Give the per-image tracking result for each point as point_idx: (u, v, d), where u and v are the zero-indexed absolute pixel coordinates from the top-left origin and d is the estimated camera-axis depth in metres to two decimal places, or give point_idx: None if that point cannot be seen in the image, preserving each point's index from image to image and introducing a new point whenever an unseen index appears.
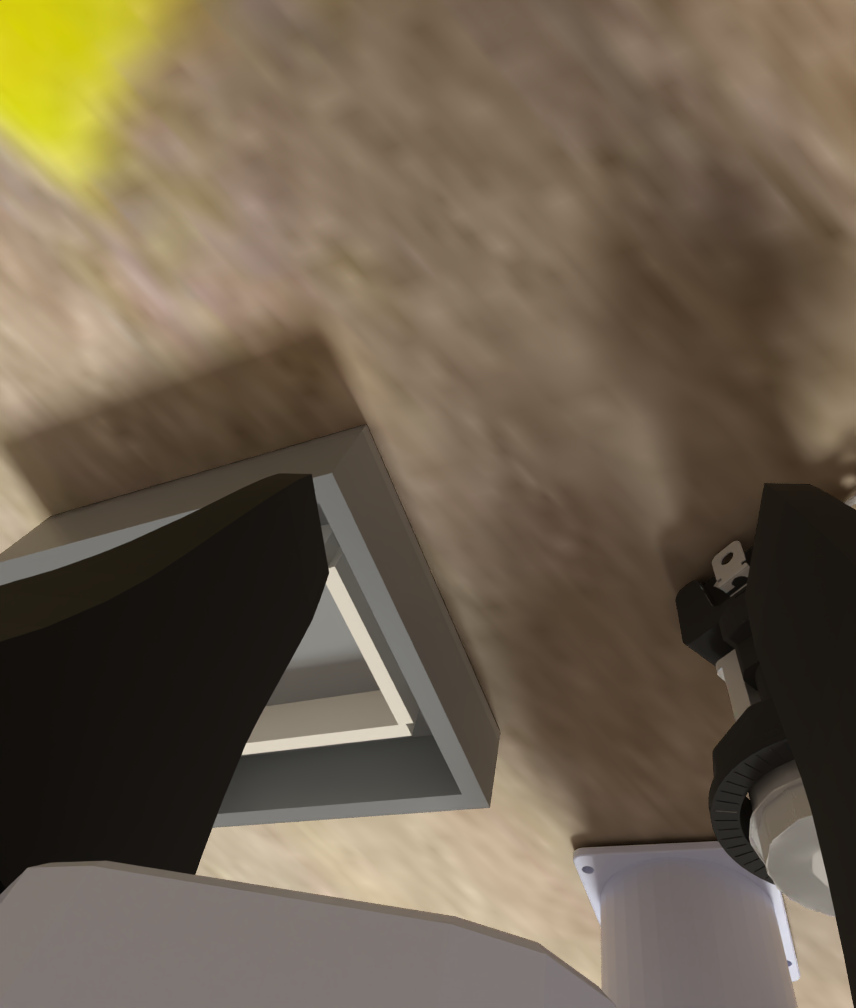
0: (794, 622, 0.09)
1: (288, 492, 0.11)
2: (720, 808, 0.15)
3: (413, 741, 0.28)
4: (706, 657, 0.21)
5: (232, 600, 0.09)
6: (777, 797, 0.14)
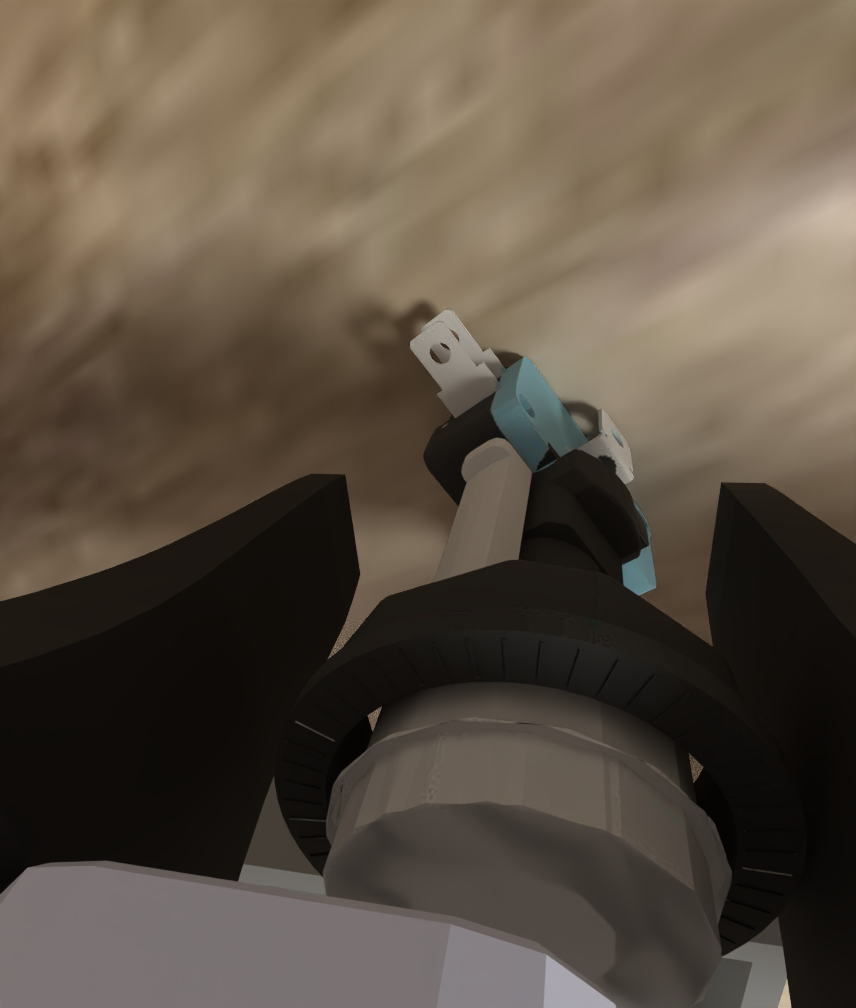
0: (744, 620, 0.09)
1: (324, 493, 0.10)
2: None
3: None
4: None
5: (272, 603, 0.09)
6: None
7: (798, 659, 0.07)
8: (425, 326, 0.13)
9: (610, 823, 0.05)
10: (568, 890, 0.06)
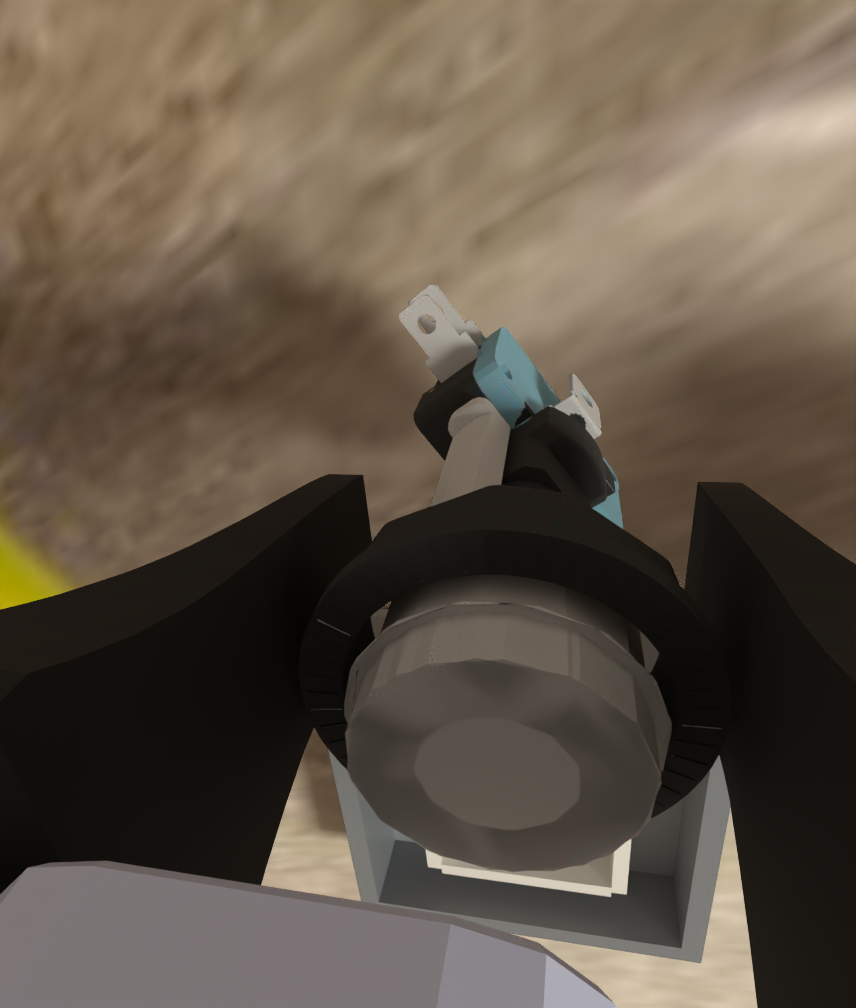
0: (717, 618, 0.09)
1: (343, 494, 0.10)
2: None
3: None
4: None
5: (294, 604, 0.09)
6: None
7: (764, 656, 0.07)
8: (412, 300, 0.15)
9: (572, 672, 0.07)
10: (541, 732, 0.07)
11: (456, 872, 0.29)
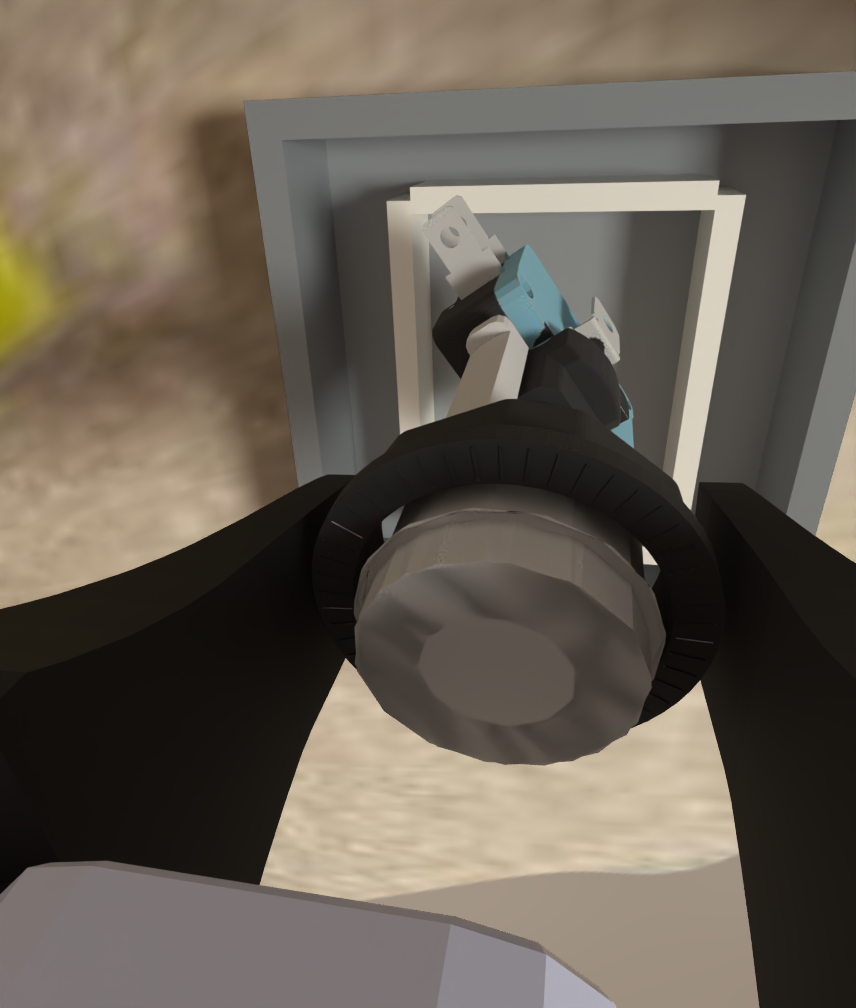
0: None
1: None
2: None
3: (814, 238, 0.17)
4: None
5: (292, 604, 0.09)
6: None
7: (766, 657, 0.07)
8: (436, 212, 0.14)
9: (574, 579, 0.07)
10: (540, 634, 0.08)
11: None
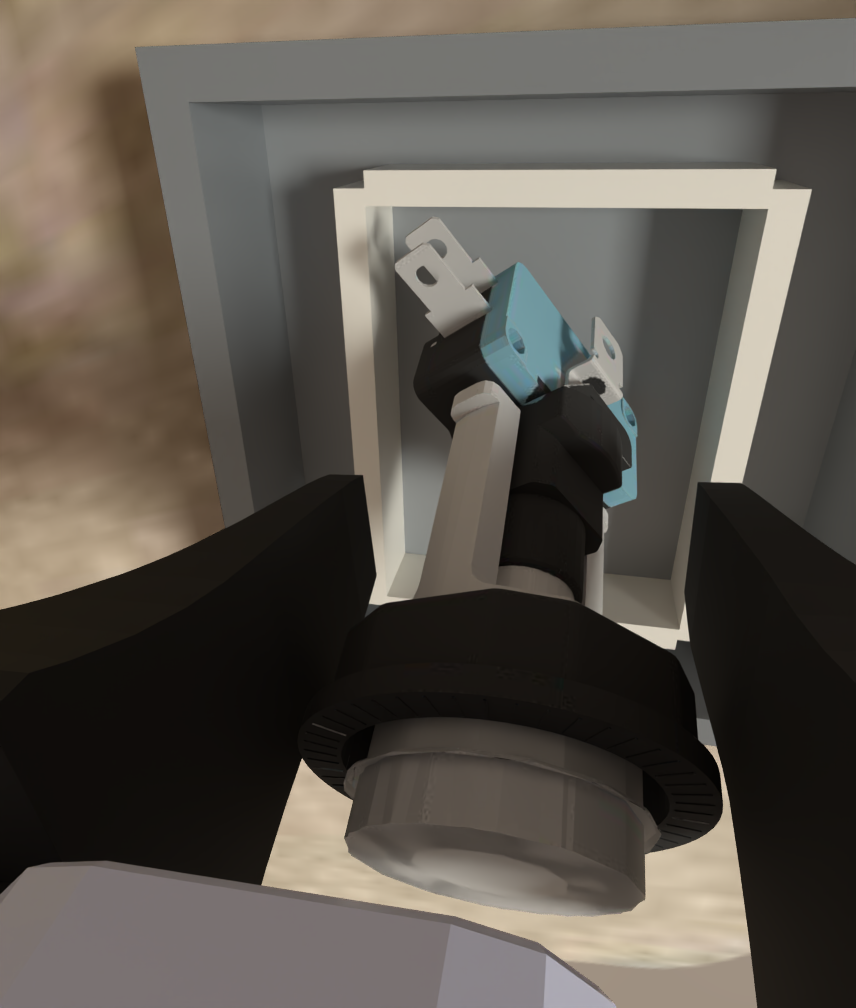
0: (717, 618, 0.09)
1: (343, 494, 0.10)
2: None
3: None
4: None
5: (294, 604, 0.09)
6: None
7: (763, 656, 0.07)
8: (410, 235, 0.12)
9: (565, 838, 0.07)
10: (532, 865, 0.07)
11: None
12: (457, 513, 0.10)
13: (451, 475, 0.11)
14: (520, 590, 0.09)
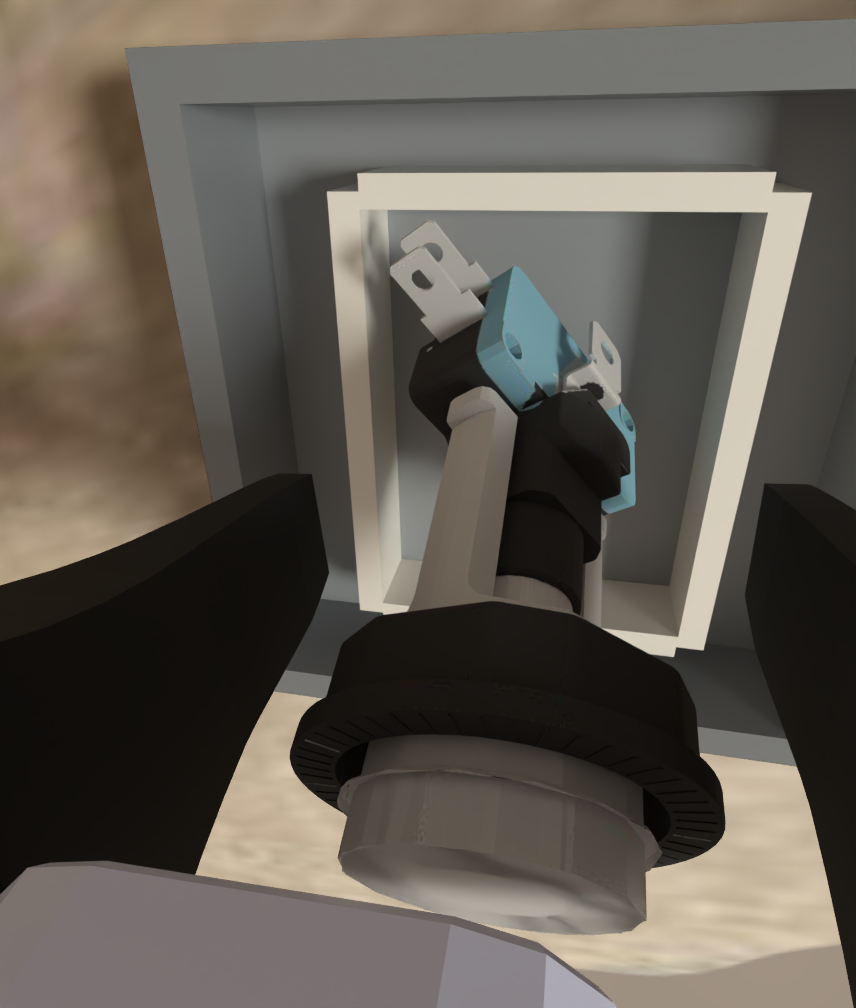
0: (793, 622, 0.09)
1: (288, 492, 0.11)
2: None
3: None
4: None
5: (232, 600, 0.09)
6: None
7: None
8: (405, 238, 0.12)
9: (564, 860, 0.07)
10: (530, 885, 0.07)
11: None
12: (453, 522, 0.10)
13: (447, 483, 0.11)
14: (517, 602, 0.09)
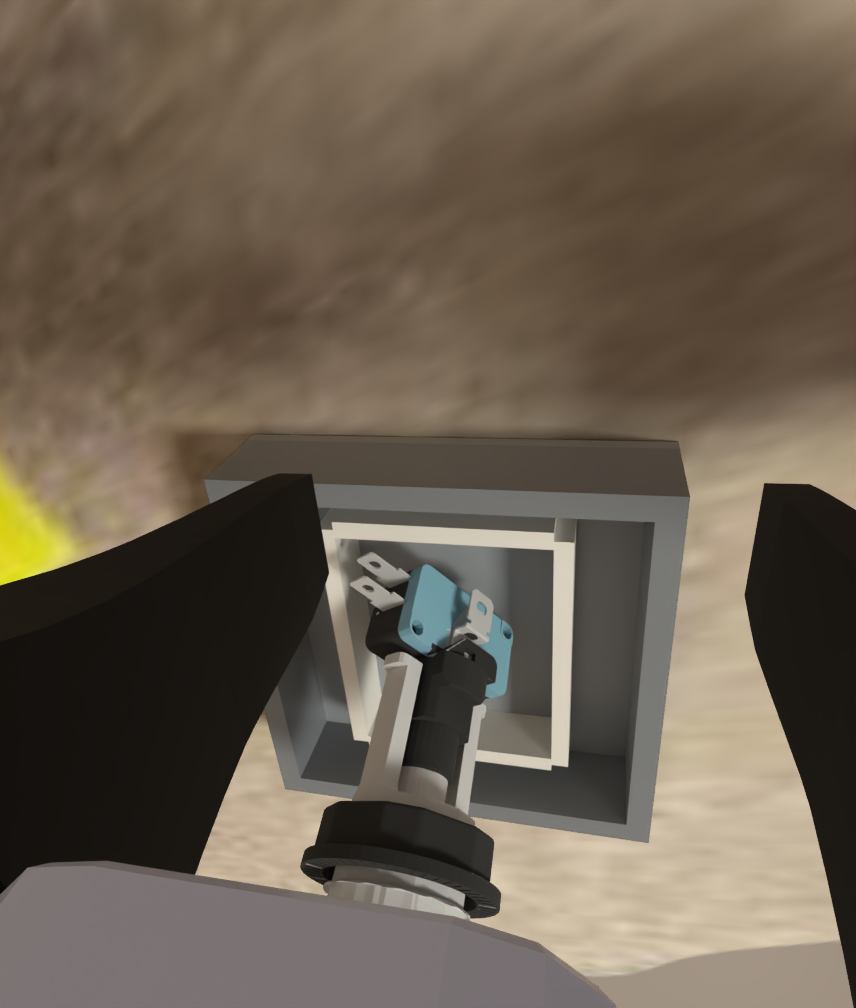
0: (794, 622, 0.09)
1: (288, 492, 0.11)
2: None
3: (643, 548, 0.22)
4: None
5: (232, 600, 0.09)
6: None
7: None
8: (359, 559, 0.22)
9: None
10: None
11: None
12: (380, 740, 0.19)
13: (380, 711, 0.20)
14: (404, 793, 0.18)
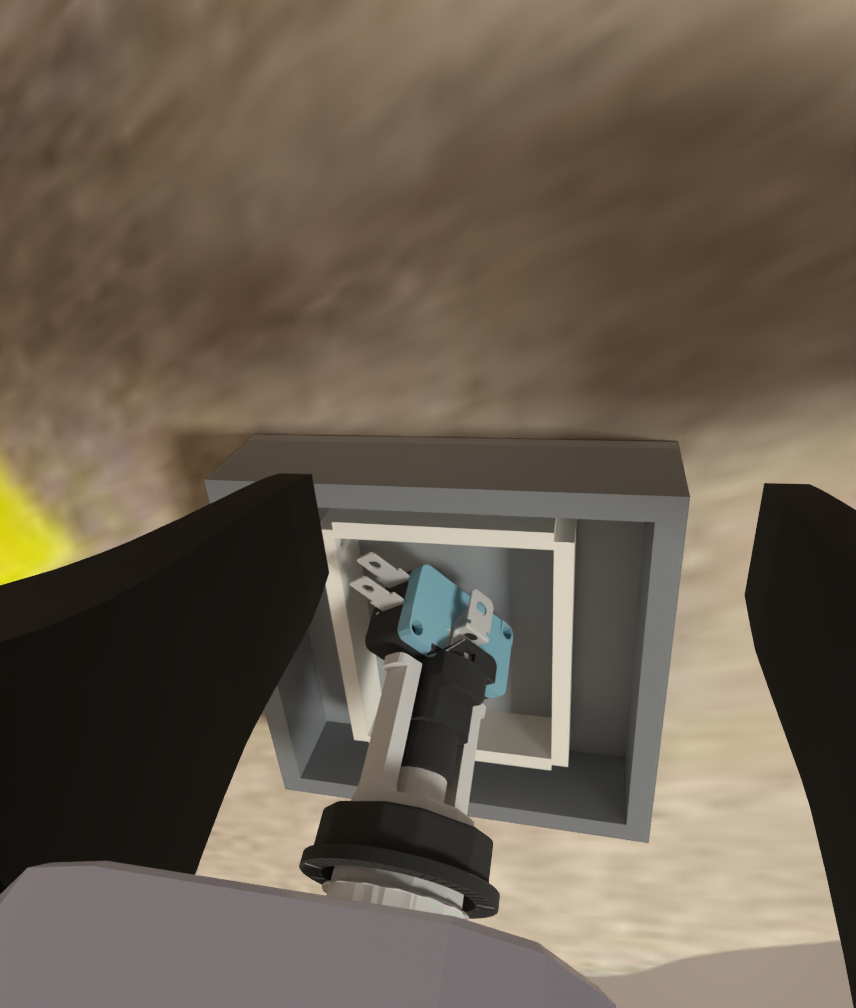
0: (794, 622, 0.09)
1: (288, 492, 0.11)
2: None
3: (643, 548, 0.22)
4: None
5: (232, 600, 0.09)
6: None
7: None
8: (359, 559, 0.22)
9: None
10: None
11: None
12: (379, 740, 0.19)
13: (380, 711, 0.20)
14: (403, 793, 0.18)
